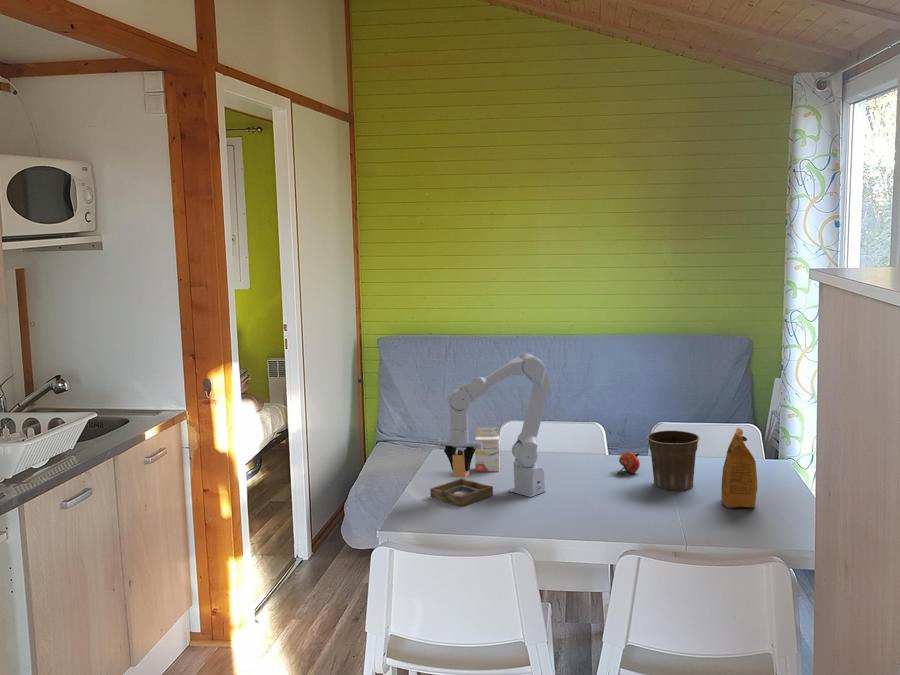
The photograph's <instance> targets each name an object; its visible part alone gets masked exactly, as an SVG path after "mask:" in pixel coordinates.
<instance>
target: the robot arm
mask: <svg viewBox="0 0 900 675" xmlns="http://www.w3.org/2000/svg"><path fill="white" fill-rule="evenodd" d="M524 375H525V376H526V377H527V378H528V380H529V381H530V383H531V384H532V388H531V392H530V397H529V400H528V405H527V409H526V412H525V416H524V420H523V424H522V428H521V430H520V431H521V432H520V434H518V435H517V439H516V441H515V443H514V444H513V445H512V448H511V453H512V455H513V456H514V458H515V459H514V461H513V486H514V487H513V488H509V489H508V492H511V493H515V494H518V495H522V496H526V497H530V498H531V497H534V496H537V495H539V494H542V493H545V492H547V489H546V488H545V487H546V486H545V471H544V469H543V468H542V467H540V466H538V465H537V460H538V450H537V449H538V447H539V446H538V434H539V429H540V426H541V422H542V418H543V413H544V409H545V406H546V402H547V398H548V393H549V390H550V385H551V382H550V379H549V376H548V371H547V367H546V365H545V364H544V362H543V361H542V359H540V358H538V357H536V356H535V355H533V354H531V353H529V352H528V353H527V352H526V353H522V354H521V355H520V356H517V357H514V358H513V359H511V360H510V361H508V362H507V363H506V364H503V365H502V366H501V367H499V368H497V369H496V370H494V371H493V372H491V373H490V374H488V375H487V376H485V377H482V376H477V377H476V376H474V377H472V378H471V381H469V382H467V383H465V384H463V385H460V386H458V388H457V389H452V390H451V391H450V392H449V394H447V398H446V400H447V403H448V404H449V428H450V429H449V431H450V434H449V435H450V438H449V439H439V440H437V448H441V447H444V449H443V450H444V454H445V455H446V456H447V459H448V461H449V464H450V467H451V470H452V471H453V458H452V455H453V454H455V453H456V452H457V448H460V449H463V452H464V457H465V470H466V471H469V472H470V470H471V464H472V459H473V458H474V457H473V456H474V455H475V450H476V449H482V448H483V442H477V441H475V440H470V439H469V438H470V437H469V432H470V431H469V413H468V407H469V404H470V403H473V402H474V401H476V400H478V399H480V398H481V397H482V396H484V395H486V394H488V393H489V390H490V389H491V387H493V386H494V385H496V384H498V383H499V382H501V381H504V380H505V379H508V378H509V377H511V376H524Z"/></svg>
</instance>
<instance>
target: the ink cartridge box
mask: <svg viewBox="0 0 900 675" xmlns="http://www.w3.org/2000/svg"><path fill="white" fill-rule="evenodd" d="M499 430H500V429H499V427H476V428H475V439H474V441H477V442H483V448H482V449H476V450H475V452H474V460H475V461H474V462H475V463H474V464H475V472H489V471H490V472H491V471H499V472H500V470H501V453H500V449H501V448H500V445H501V444H500V434H499ZM488 431H489V432H488Z"/></svg>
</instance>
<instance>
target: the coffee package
mask: <svg viewBox="0 0 900 675" xmlns="http://www.w3.org/2000/svg"><path fill="white" fill-rule="evenodd" d="M734 432H735V433H734V434H733V436H732V439H731V441H730V443H729V445H728V447H727V451H726V456H725V459H724V463H723V467H722V474H721V475H722V476H721V489H720V490H721V494H720V495H721V501H722V503H723V505H724V506H725V508H728V509H733V508H735V509H736V508H755V507H756V501H757V492H758V473H757V464H756V463H757V462H756V460H755V458H754V455H753V454H752V453H751V451H750V449H749V448H748V447H747V446H746V444H745V442H747V441H748V439H747V437H746V436H745V435H743V433H744V430H742V429H741V427H737V428H736V429H735V431H734Z"/></svg>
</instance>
